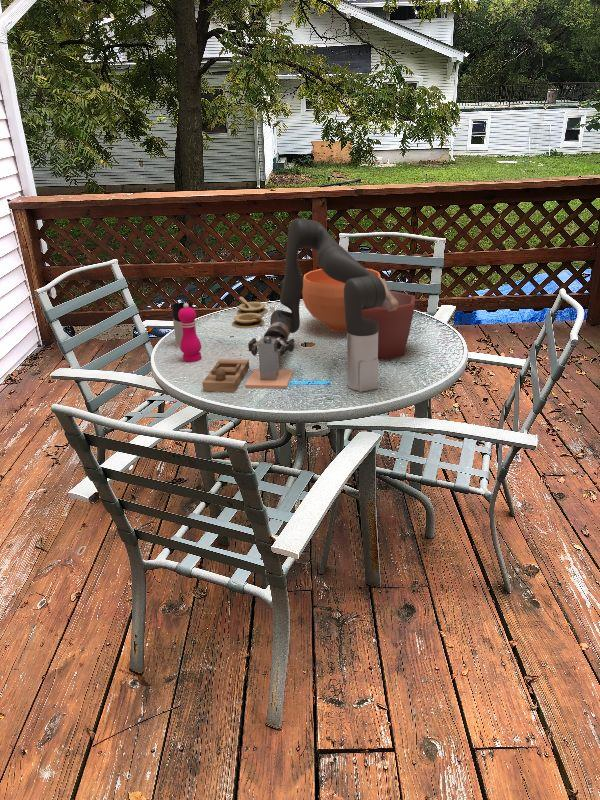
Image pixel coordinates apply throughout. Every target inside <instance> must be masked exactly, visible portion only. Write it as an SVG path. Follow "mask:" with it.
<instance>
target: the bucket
mask: <svg viewBox="0 0 600 800" xmlns="http://www.w3.org/2000/svg"><path fill="white" fill-rule="evenodd" d="M380 280H381V281H382V283H383V285H384V287H385V290H386V299H385V301H384V302H383V304H381V305H380V306H378V307H375V308H369V309H363V310H362V315H363V317H367V318H371V319H374V320H376V321H377V322H378V360H379V359H383V360H382V361H389V360H392V359H397V357H398V358H401V357H404V356H405V353H406V349H407V346H408V345H407V344H408V340H409V335H410V331H411V326H412V321H413V319H414V318H413V317H414V313H415V312H414V311H415V304H416V295H414V294H408V293H403V292H398V291H395V290H390V289H389V288H388V284H387V282H386V279H385V278H381V279H380ZM388 359H389V360H388Z"/></svg>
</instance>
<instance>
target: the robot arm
mask: <svg viewBox="0 0 600 800" xmlns="http://www.w3.org/2000/svg"><path fill="white" fill-rule="evenodd" d="M287 231H288V232H287V239H286V240H287V241H286V249H285V251H286V253H285V266H284V267H285V269H284V278H283V283H282V288H281V292H280V296H279V302H280V304H281V305H283V307H286V308H288V309H289V310H290V311H285V310H282V309H276V310H275V309H274V311H273V312H271V315H270V319H269V321H270V325H269V326H268V329H267V330H266V331H265V333H264V335H263V337H265V336H270V337H271V339H277V347H278V352H279V356H280V357H283V356H285V355H286V354H287V352H289V353H293V352H294V349H295V338H290V339H289V337H290V334H294V333H297V331H298V330H299V328H300V325H301V317H300V316H301V315H300V302H301V299H302V295H303V294H302V290H303V278H304V276H303V274H302V271H301V268H300V265H299V262H298V254H299V248H301V249H302V248H303V249H312V250H314V251H316V252H317V255H316V262H317V264H318V267H319V269H322V270H323V271H324V272H325V273H326V274H327V275H328V276H329V277H331V278H332V279H334V280H337V281H340V282H343V283H345V286H344V304H345V320H346V326H347V332H346V373H347V375H346V376H347V377H346V378H347V379H346V382H347V384H346V385H347V387H348V388H349V389H350V390H352V391H358V392H360V393H362V392H366V391H372V390H377V389H379V370H380V369H379V365H380V364H379V363H380V361H379V359H378V322H377V321H376V320H374V319H371V318H367V317H363V315H362V310H363V309H369V308H375V307H378V306H380V305H381V304H383V302H384V301H385V299H386V290H385V287H384V285H383V283H382V281H381V280H380V279H379V278H378V277H377V276H376V275H375V274H373V273H372V272H370V271H369V270H367V269H368V268H367V267H364V266H363V265H362V264H361V263H360V262H358V261H357V260H356V259H355V258H354V257H353V256H352V255H351V254H350V253H349V252H348V251H347V250H346V249H345V248H343V247H342V246H341V245H340V244H339V243H338V242H337V241H336V240H335V239H334V238H333V237H332V236H331V235H330V233H329V232H328V231H327V229H326V228H325V227H324V225H323V224H322V223H321V222H319V221H317V220H314V219H313V220H312V219H305V218H299V217H298V218H297V217H296V218H294V219H293V220H292V221H291V222H290V224H289V227H288V230H287ZM366 268H367V269H366ZM259 341H260V340H257V338H254V337H253V338H251V340H250V341H249V342H248V343H247V345H248V352H250V354H251V355H252V356H253V357H255V356H257V354H258V343H259Z"/></svg>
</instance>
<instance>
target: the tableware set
mask: <svg viewBox="0 0 600 800" xmlns="http://www.w3.org/2000/svg"><path fill="white" fill-rule="evenodd" d="M239 301H241V302H242V303H241V304H239V305H238V306H237V308H238V309H237V310H236V315H235V316H234V317H233V322H232V323H231V325H232V327H234V328H238V329H255V328H259V327H261V326H263V325H264V324H265V322H266V321H265V320H264V319H263V317H264V318H265V315H266V314H267V313H268V312H269V309H268V308H266V304H265V303H264V302H261V301H247V300H246V299H245V298H244V297H243V296H239ZM232 311H235V308H230V312H232ZM274 311H275V306H271V307H270V313H273V312H274Z"/></svg>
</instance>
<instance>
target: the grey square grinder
mask: <svg viewBox="0 0 600 800" xmlns="http://www.w3.org/2000/svg"><path fill="white" fill-rule="evenodd" d="M258 341H259V343H258V346H257V349H258V352H257V354H258V364H259V365H258V366H259V369H260V380H277V378H278V376H279V370H280V368H279V367H280V366H279V364H280V363H279V351H278V347H277V339H271V337H270V336H265V337H264V336H263V337H262V338H260V340H258Z"/></svg>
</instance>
